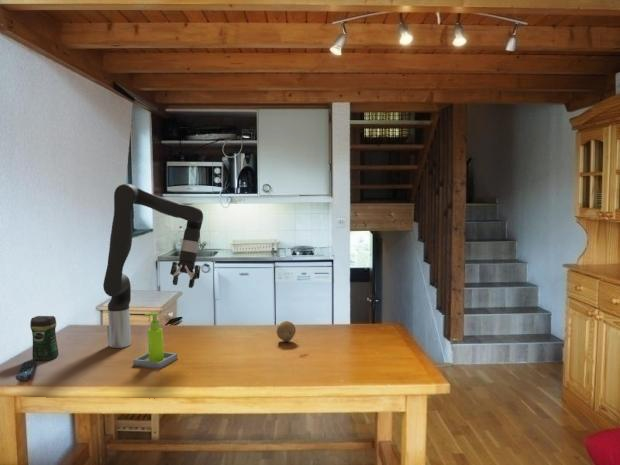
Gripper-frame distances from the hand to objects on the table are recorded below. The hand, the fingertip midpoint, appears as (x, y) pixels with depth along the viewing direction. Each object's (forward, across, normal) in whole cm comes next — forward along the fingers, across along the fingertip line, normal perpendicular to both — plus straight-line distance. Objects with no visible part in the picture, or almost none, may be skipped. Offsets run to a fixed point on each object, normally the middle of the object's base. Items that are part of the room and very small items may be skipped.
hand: (182, 286), depth 218 cm
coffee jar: (+39, -46, -24) cm, 65 cm away
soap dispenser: (+32, +2, -13) cm, 34 cm away
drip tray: (+32, +2, -13) cm, 35 cm away
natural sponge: (+19, +42, +28) cm, 55 cm away
